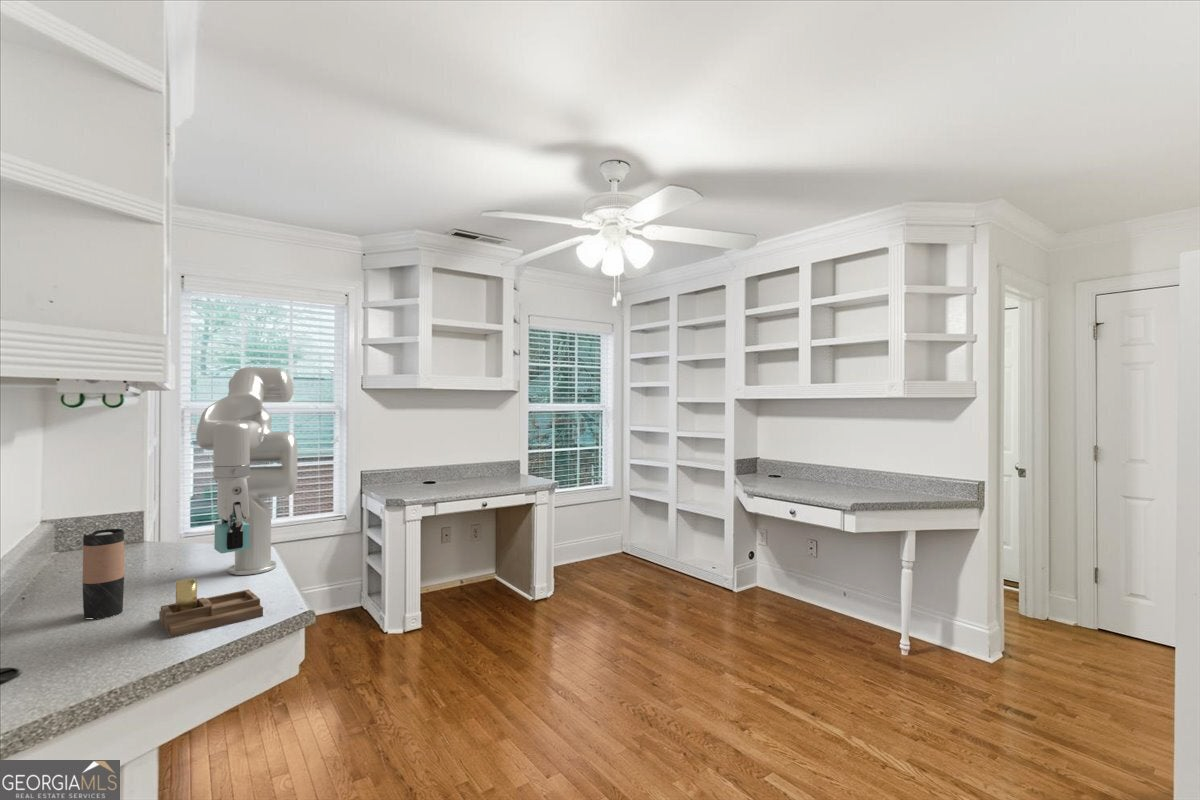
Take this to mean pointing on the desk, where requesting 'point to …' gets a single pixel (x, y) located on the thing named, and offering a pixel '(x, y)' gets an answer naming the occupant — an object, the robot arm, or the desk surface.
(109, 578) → the travel mug
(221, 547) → the block
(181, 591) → the peg
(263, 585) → the desk surface
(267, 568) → the robot arm
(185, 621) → the organizer
